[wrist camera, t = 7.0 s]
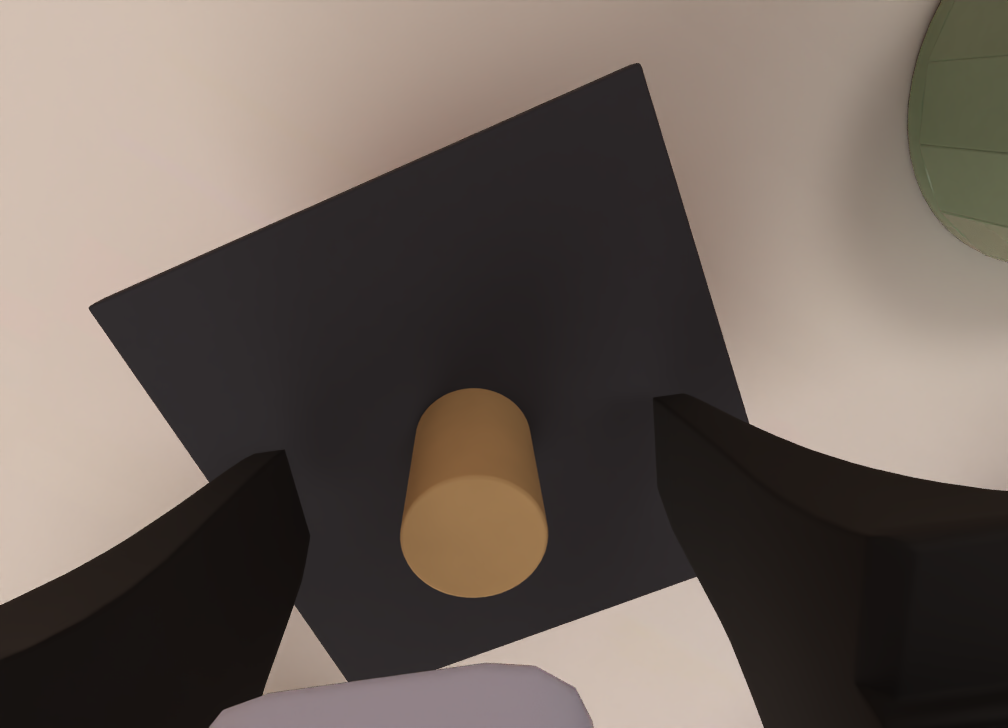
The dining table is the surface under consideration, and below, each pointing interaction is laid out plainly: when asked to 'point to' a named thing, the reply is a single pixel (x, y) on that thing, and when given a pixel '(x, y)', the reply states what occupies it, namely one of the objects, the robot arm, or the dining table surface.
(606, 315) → the dark square pegged slab
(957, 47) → the sage cup
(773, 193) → the dining table surface
